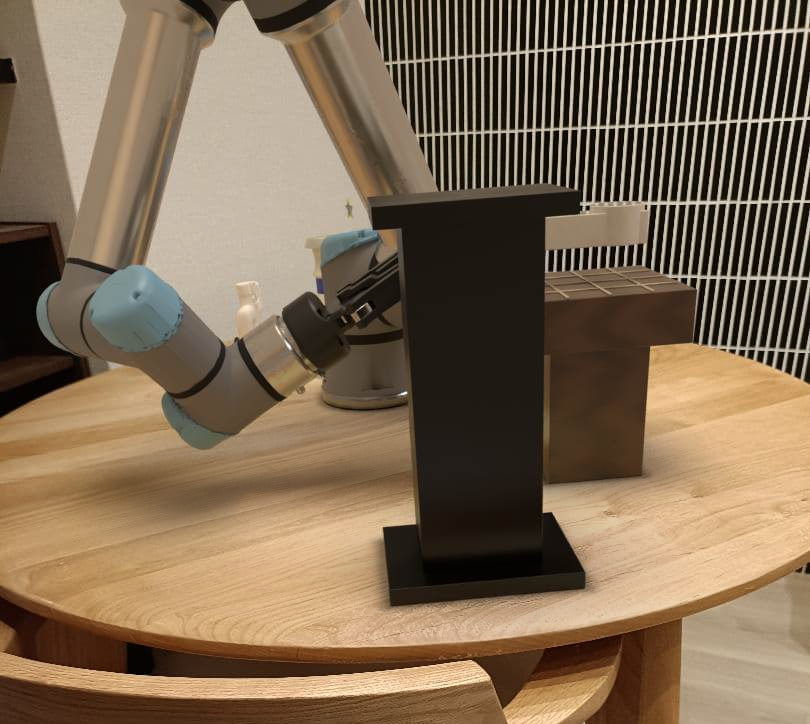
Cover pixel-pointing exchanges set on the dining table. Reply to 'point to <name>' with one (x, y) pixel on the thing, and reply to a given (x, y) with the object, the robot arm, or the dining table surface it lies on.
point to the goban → (604, 365)
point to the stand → (475, 393)
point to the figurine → (248, 306)
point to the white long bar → (599, 226)
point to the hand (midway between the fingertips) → (496, 205)
